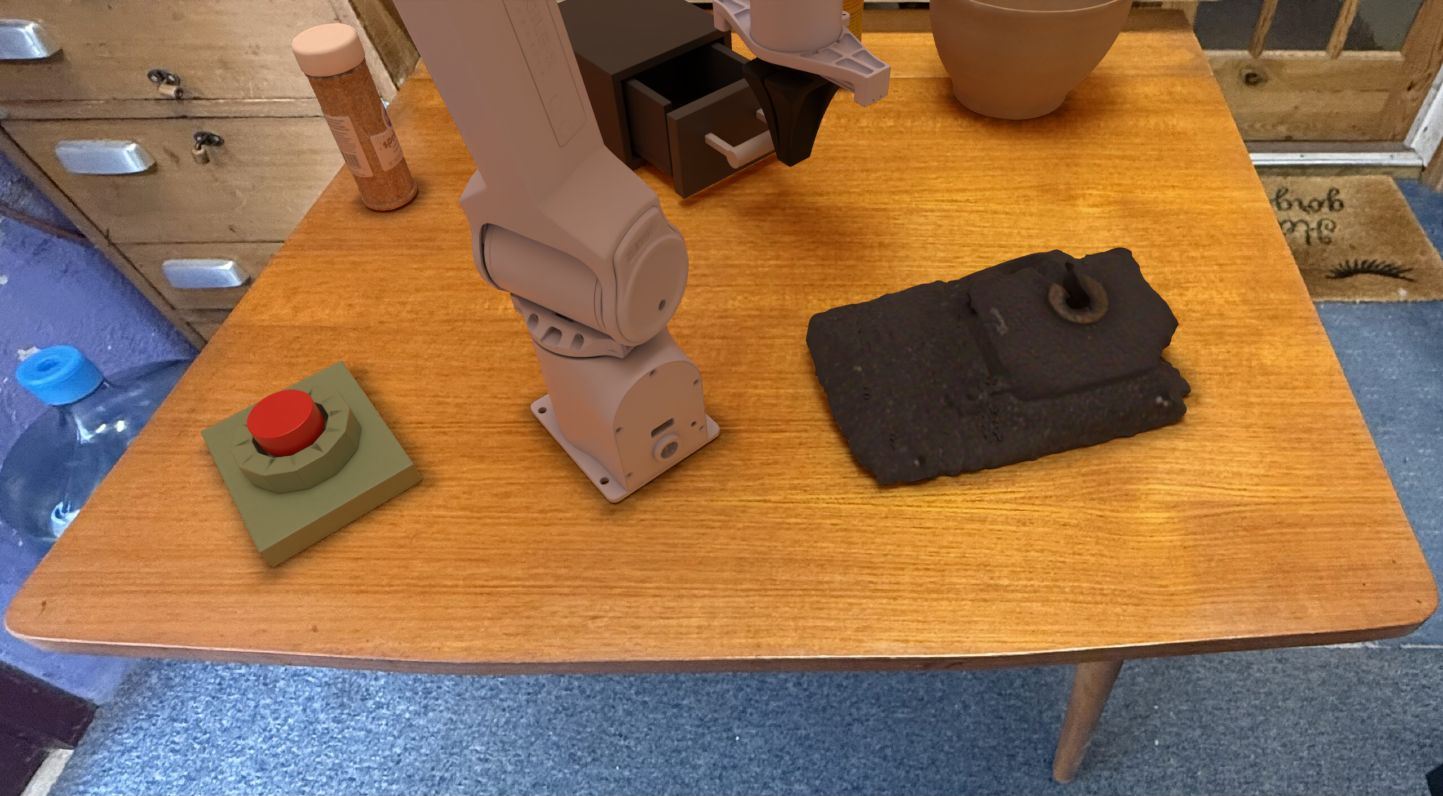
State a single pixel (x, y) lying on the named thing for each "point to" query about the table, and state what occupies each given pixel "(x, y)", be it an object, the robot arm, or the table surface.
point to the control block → (312, 469)
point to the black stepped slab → (999, 365)
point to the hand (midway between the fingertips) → (794, 158)
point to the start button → (285, 422)
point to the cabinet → (630, 52)
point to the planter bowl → (1022, 50)
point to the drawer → (696, 118)
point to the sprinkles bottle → (355, 113)
